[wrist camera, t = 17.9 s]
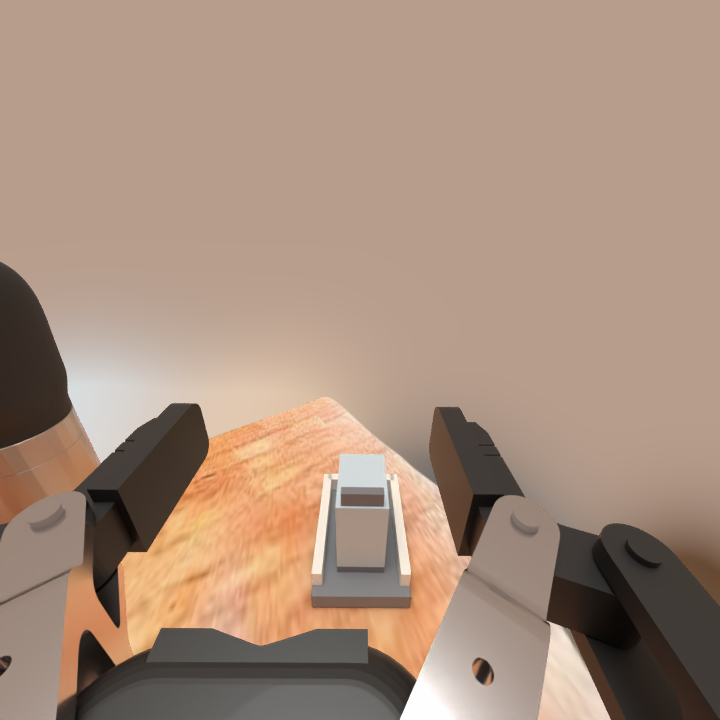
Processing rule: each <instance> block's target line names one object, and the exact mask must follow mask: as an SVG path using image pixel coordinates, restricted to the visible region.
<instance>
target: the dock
mask: <svg viewBox="0 0 720 720" xmlns="http://www.w3.org/2000/svg"><path fill="white" fill-rule="evenodd" d="M336 495H337V490H332V493H331V503H330V513H329V523H328V533H327V543H326V554H325V564H324V574H323V584H322V585H313V586H312V594H311V599H312V607H348V608H409V606H410V600H411V594H410V586H400V583H399V574H398V565H397V555H396V546H395V537H394V528H393V518H392V509H391V500H390V491H389V490H388V500H389V518H388V530H387V542H386V554H385V567H384V573H361V572H337V547H336V514H335V506H336Z"/></svg>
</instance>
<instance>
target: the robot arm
mask: <svg viewBox="0 0 720 720" xmlns="http://www.w3.org/2000/svg"><path fill="white" fill-rule="evenodd" d="M429 446H430V447H429V451H430V459H431V463H432V467H433V470H434V474H435V477H436V481H437V484H438V488H439V491H440V495H441V498H442V502H443V505H444V509H445V512H446V516H447V519H448V523H449V526H450V530H451V533H452V537H453V540H454V543H455V547H456V550H457V554H458V556H471V557H472V558H471V561H470V563H469V565H468V567H467V569H465V570H464V572H463V574H462V576H461V578H460V580H459V583H458V585H457V587H456V590H455V592H454V594H453V597H452V599H451V601H450V604H449V606H448V608H447V611H446V613H445V615H444V618H443V620H442V622H441V625H440V627H439V630H438V632H437V634H436V637H435V639H434V641H433V644H432V646H431V648H430V651H429V653H428V655H427V658H426V660H425V662H424V665H423V667H422V669H421V672H420V674H419V676H418V679H417V680H416V679H415V677H414V676H413V675H412V674H411V673H410V672H408V671H407V670H406V669H405V668H404V667H403V666H402V665H401V664H400V663H398V662H397V661H396V660H394V659H393V658H391V657H390V656H388V655H386V654H384V653H383V652H381V651H379V650H377V649H374V648H372V647H369V646H368V630H367V629H316V630H312V631H309V632H306V633H303V634H300V635H296V636H293V637H290V638H287V639H284V640H281V641H277V642H274V643H271V644H268V645H264V646H258V645H255V644H252V643H249V642H247V641H244V640H241V639H239V638H236V637H234V636H231V635H228V634H226V633H223V632H220V631H218V630H215V629H212V628H161V630H160V632H159V634H158V636H157V639H156V641H155V643H154V645H153V647H152V648H151V649H148V650H146V651H144V652H141V653H139V654H137V655H134V656H133V653H132V650H131V647H130V643H129V639H128V631H127V616H126V600H125V584H124V569H123V566H122V564H121V561H122V559H123V558H124V556H125V555H126V554H127V552H147V551H148V549H149V547H150V546H151V544H152V543H153V541H154V539H155V538H156V536H157V535H158V533H159V531H160V530H161V528H162V527H163V525H164V523H165V522H166V520H167V519H168V517H169V516H170V514H171V512H172V511H173V509H174V508H175V506H176V504H177V503H178V501H179V500H180V498H181V496H182V495H183V493H184V492H185V490H186V488H187V487H188V485H189V484H190V482H191V480H192V479H193V477H194V476H195V474H196V472H197V471H198V469H199V468H200V466H201V464H202V463H203V461H204V460H205V458H206V456H207V453H208V449H209V439H208V435H207V431H206V428H205V424H204V420H203V416H202V412H201V408H200V407H199V405H198V404H189V403H187V404H186V403H181V404H180V403H174V404H170V405H169V406H168V407H167V408H166V409H165V410H164V411H163V412H162V413H161V414H160V415H159V416H158V417H157V418H154V419H152V420H150V421H149V422H147V423H145V424H144V425H142V426H140V427H139V428H137V429H136V430H135V431H134V432H133V433H132V434H131V435H130V436H129V437H128V438H127V439H126V441H125V442H123V443H122V444H121V445H120V446H119V447H118V448H117V449H116V450H115V453H111V454H110V456H108V458H106V459H105V460H104V461H103V462H102V463H100V461H99V459H98V457H97V455H96V453H95V451H94V449H93V447H92V444H91V442H90V440H89V438H88V436H87V434H86V432H85V430H84V428H83V426H82V424H81V422H80V420H79V418H78V416H77V414H76V411H75V409H74V407H73V405H72V403H71V400H70V398H69V396H68V390H67V374H66V370H65V366H64V364H63V361H62V359H61V356H60V353H59V351H58V348H57V346H56V343H55V340H54V337H53V335H52V332H51V329H50V327H49V324H48V321H47V319H46V316H45V314H44V311H43V309H42V307H41V305H40V303H39V301H38V299H37V297H36V295H35V294H34V292H33V291H32V289H31V288H30V286H29V285H28V284H27V283H26V281H25V280H24V279H23V278H22V277H21V276H20V275H19V274H18V273H16V272H15V271H14V270H13V269H11V268H10V267H8V266H7V265H5V264H3V263H1V262H0V720H538V714H539V708H540V701H541V695H542V688H543V682H544V675H545V669H546V662H547V656H548V649H549V642H550V624H549V623H548V622H547V621H549V622H552V623H555V624H557V625H560V626H563V627H565V628H568V629H570V630H571V633H572V635H573V637H574V639H575V642H576V644H577V646H578V648H579V650H580V653H581V655H582V657H583V659H584V661H585V664H586V666H587V668H588V670H589V672H590V675H591V677H592V679H593V681H594V683H595V686H596V688H597V690H598V692H599V694H600V697H601V699H602V701H603V703H604V705H605V707H606V710H607V712H608V714H609V716H610V718H611V720H720V606H719V605H718V604H717V603H716V601H715V600H714V599H713V598H712V597H711V596H710V594H709V593H708V592H707V591H706V590H705V589H704V588H703V586H702V585H701V584H700V583H699V582H698V581H697V579H696V578H695V577H694V576H693V575H692V574H691V572H690V571H689V570H688V569H687V568H686V567H685V565H683V563H682V562H681V561H680V560H679V559H678V557H677V556H676V555H675V554H674V553H673V552H672V551H671V550H670V549H669V548H668V547H667V546H665V545H664V544H663V543H662V542H660V541H659V540H658V539H656V538H655V537H653V536H651V535H650V534H648V533H646V532H644V531H642V530H640V529H638V528H635V527H632V526H629V525H625V524H609V525H607V526H605V527H604V528H603V530H602V531H601V533H600V535H599V536H597V535H594V534H591V533H587V532H584V531H580V530H576V529H573V528H569V527H566V526H563V525H560V524H558V523H556V521H555V520H554V518H553V517H552V516H551V515H550V513H549V512H548V511H547V510H546V509H544V508H543V507H542V506H540V505H539V504H537V503H536V502H534V501H532V500H530V499H527V498H525V496H524V494H523V493H522V491H521V489H520V488H519V486H518V484H517V482H516V481H515V479H514V477H513V476H512V474H511V472H510V470H509V469H508V467H507V465H506V464H505V462H504V460H503V458H502V457H500V453H499V451H498V450H497V448H496V447H495V446H494V443H493V441H492V440H491V438H490V436H489V434H488V433H487V432H486V431H485V430H484V429H483V428H481V427H480V426H479V425H478V424H477V423H475V422H467V421H466V419H465V417H464V415H463V413H462V411H461V410H460V408H459V407H436V408H435V411H434V416H433V423H432V430H431V437H430V444H429Z"/></svg>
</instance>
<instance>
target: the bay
mask: <svg viewBox="0 0 720 720" xmlns="http://www.w3.org/2000/svg"><path fill="white" fill-rule="evenodd" d="M386 479H387V490H389V491H390V500H391V509H392V518H393V528H394V537H395V546H396V555H397V565H398V574H399V583H400V586H410V579H411V570H410V563H409V556H408V549H407V542H406V535H405V528H404V521H403V514H402V507H401V500H400V493H399V486H398V479H397V474H386ZM337 484H338V474H325V476H324V484H323V491H322V499H321V506H320V514H319V521H318V529H317V537H316V544H315V552H314V559H313V567H312V584H313V585H322V584H323V574H324V564H325V554H326V543H327V533H328V523H329V513H330V503H331V493H332V490H337Z"/></svg>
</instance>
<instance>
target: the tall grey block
mask: <svg viewBox="0 0 720 720" xmlns="http://www.w3.org/2000/svg"><path fill="white" fill-rule="evenodd" d="M335 514H336V547H337V572H361V573H384V567H385V554H386V542H387V530H388V518H389V500H388V490H387V479H386V468H385V457H384V455H376V454H340V461H339V473H338V484H337V495H336V506H335Z"/></svg>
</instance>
